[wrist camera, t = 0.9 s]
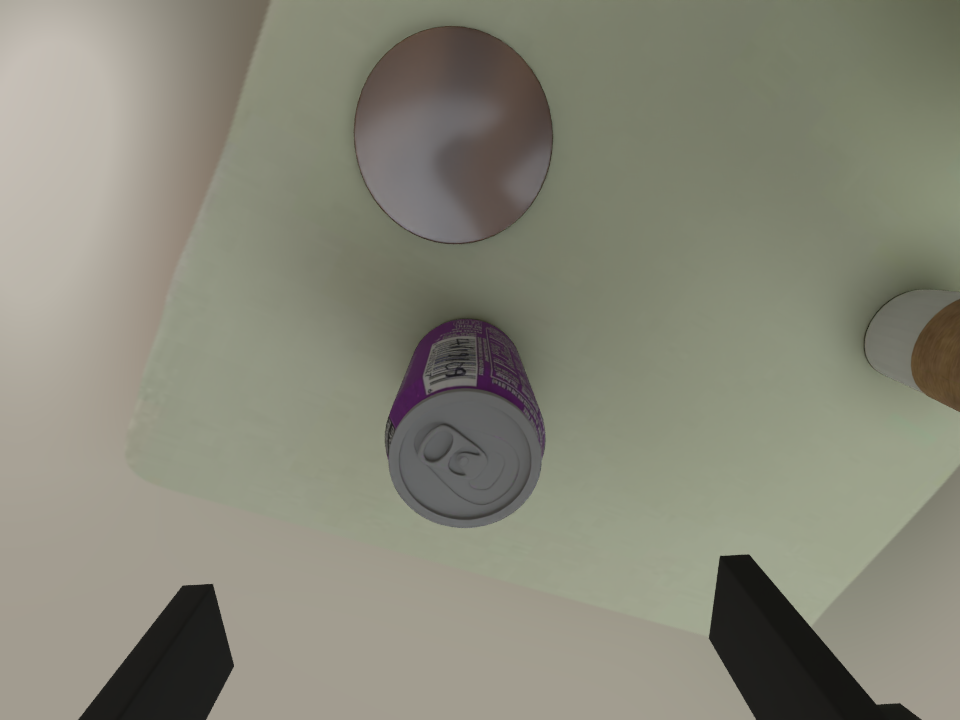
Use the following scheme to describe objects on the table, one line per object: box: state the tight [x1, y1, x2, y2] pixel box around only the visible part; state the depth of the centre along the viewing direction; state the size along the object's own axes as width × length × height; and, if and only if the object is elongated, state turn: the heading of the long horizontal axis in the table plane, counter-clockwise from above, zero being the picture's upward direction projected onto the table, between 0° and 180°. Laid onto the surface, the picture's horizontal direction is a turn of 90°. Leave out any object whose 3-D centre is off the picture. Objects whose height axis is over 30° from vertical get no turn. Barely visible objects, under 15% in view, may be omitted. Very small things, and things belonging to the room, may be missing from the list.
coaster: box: [354, 26, 553, 244], centre depth 26 cm, size 11×11×1 cm
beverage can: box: [385, 319, 546, 528], centre depth 24 cm, size 7×7×12 cm
